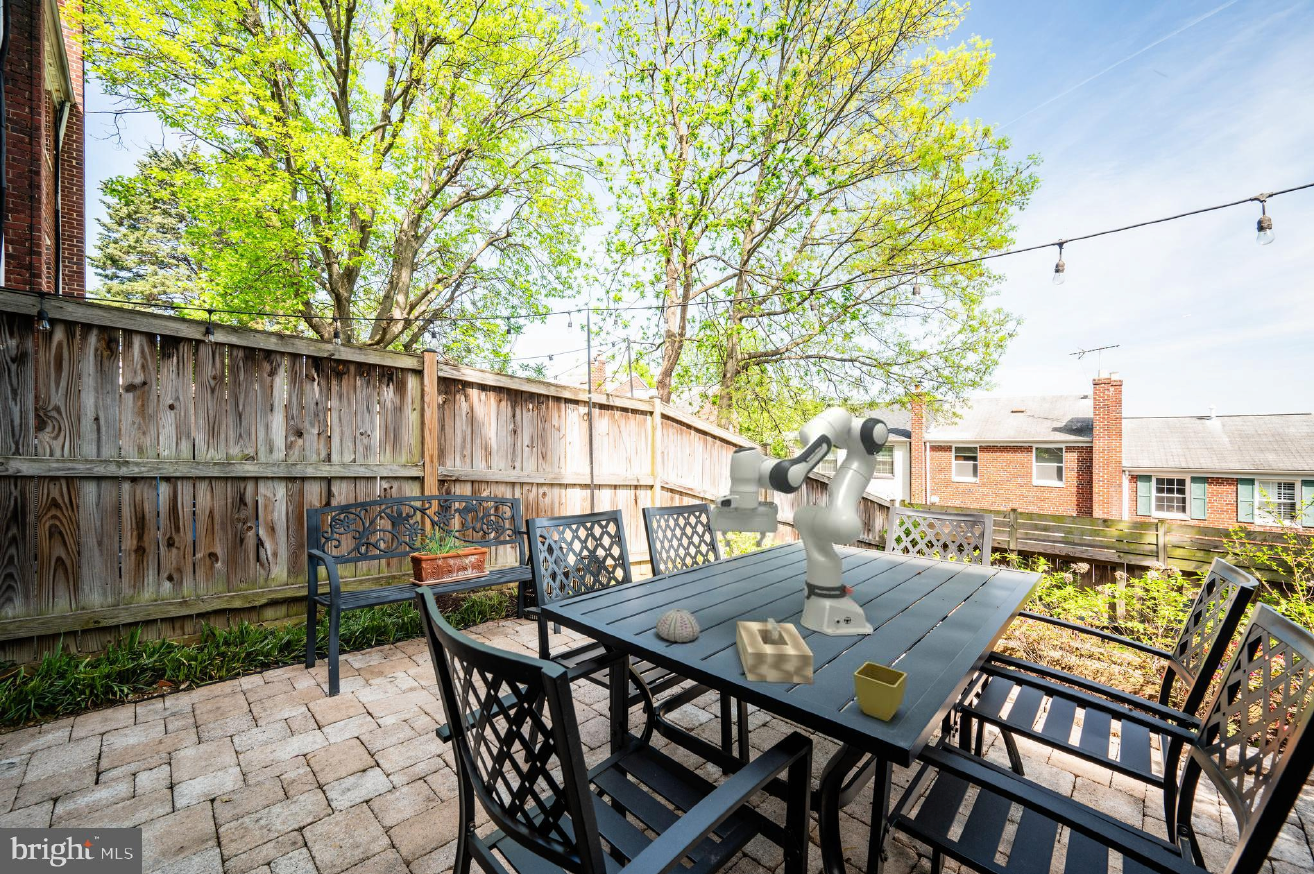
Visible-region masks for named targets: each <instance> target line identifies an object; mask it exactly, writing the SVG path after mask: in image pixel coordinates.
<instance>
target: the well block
mask: <svg viewBox="0 0 1314 874" xmlns="http://www.w3.org/2000/svg"><path fill="white" fill-rule="evenodd" d="M775 623H776V624H777V626H778V645H767V622H766V621H765V622H763V621H762V622H761V621H740V620H738V621H736V638H735V639H736V642H735V643H736V645H735V646H736V649H737V652H738V654H739V657H740V661H741V663H742V666H743V667H742V668H743V671H744V673H745V676H746V679H747V681H749V682H750V681H751V682H768V683H769V682H770V683H789V684H791V683H792V684H812V685H813V683H814V681H813V680H814V654H813V652H812V651H811V650H810V648H809V646H808V645H807V644H806V643H807V642H805V641H804V639H803V638H802V636H801V634H800V633H799V631H798V630H797V629H796V627H795V626H794V624H793V623H787V622H786V623H783V622H781V623H780V622H775Z"/></svg>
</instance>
